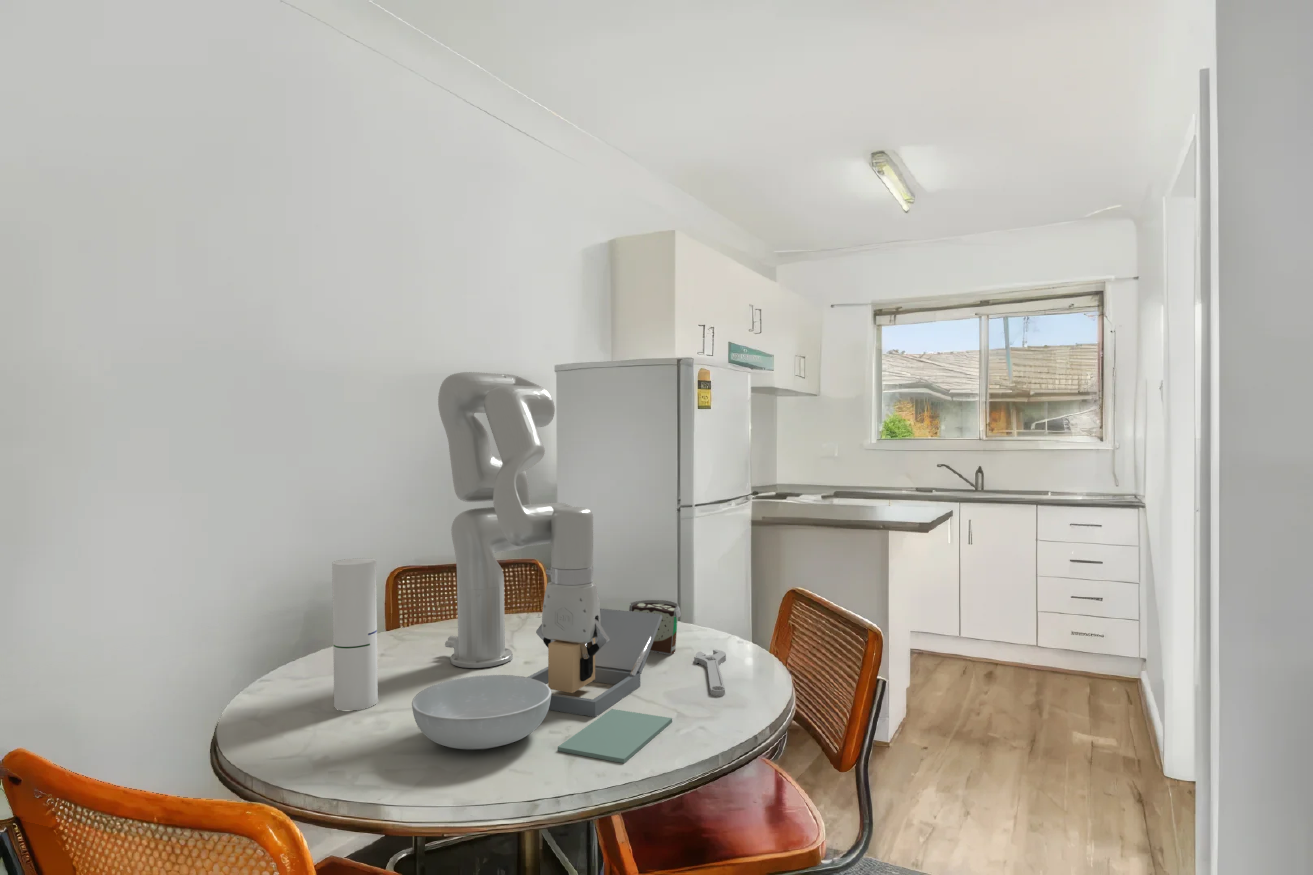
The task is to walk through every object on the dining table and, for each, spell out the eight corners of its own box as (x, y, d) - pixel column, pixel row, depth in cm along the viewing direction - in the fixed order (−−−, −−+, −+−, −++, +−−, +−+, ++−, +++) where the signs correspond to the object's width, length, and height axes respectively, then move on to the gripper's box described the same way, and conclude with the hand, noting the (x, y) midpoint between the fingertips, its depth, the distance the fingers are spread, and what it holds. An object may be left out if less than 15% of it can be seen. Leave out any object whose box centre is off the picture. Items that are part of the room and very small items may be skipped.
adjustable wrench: (726, 699, 135) (726, 689, 135) (689, 699, 136) (689, 689, 136) (726, 657, 160) (725, 649, 160) (695, 657, 161) (695, 648, 161)
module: (548, 688, 135) (548, 643, 135) (571, 675, 142) (571, 632, 142) (572, 692, 133) (572, 647, 133) (595, 679, 140) (595, 635, 140)
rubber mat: (557, 750, 112) (557, 746, 112) (611, 712, 128) (611, 708, 128) (624, 763, 108) (624, 758, 108) (672, 721, 123) (672, 717, 123)
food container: (692, 648, 166) (691, 602, 166) (677, 655, 161) (676, 608, 161) (644, 641, 172) (644, 597, 172) (629, 647, 167) (628, 602, 167)
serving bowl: (562, 755, 111) (561, 708, 111) (410, 776, 105) (410, 726, 105) (541, 707, 131) (541, 667, 131) (413, 722, 125) (413, 680, 125)
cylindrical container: (386, 699, 136) (384, 558, 136) (358, 713, 129) (356, 565, 129) (353, 695, 138) (352, 557, 138) (324, 708, 132) (322, 563, 132)
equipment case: (505, 702, 133) (504, 638, 133) (583, 660, 158) (583, 606, 158) (595, 717, 126) (594, 648, 126) (663, 670, 151) (662, 613, 151)
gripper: (520, 575, 138) (520, 676, 138) (603, 584, 130) (603, 690, 131) (543, 568, 144) (543, 664, 145) (623, 576, 137) (623, 677, 138)
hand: (572, 675), depth 138 cm, fingers closed on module, 5 cm apart
